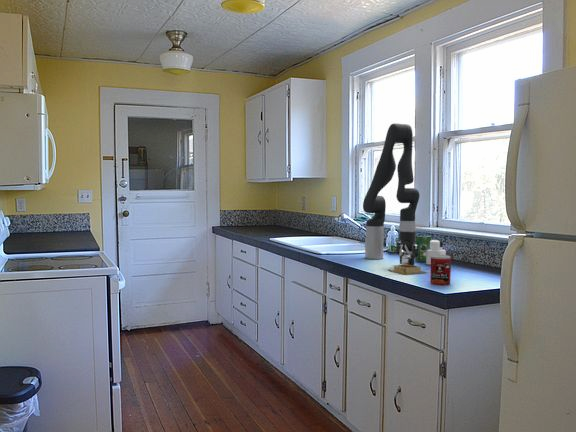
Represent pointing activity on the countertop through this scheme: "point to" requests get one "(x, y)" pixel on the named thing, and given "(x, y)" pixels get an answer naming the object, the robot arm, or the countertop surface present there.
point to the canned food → (440, 269)
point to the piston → (405, 259)
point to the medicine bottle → (434, 250)
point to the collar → (407, 269)
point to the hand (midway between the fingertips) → (406, 265)
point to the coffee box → (422, 247)
